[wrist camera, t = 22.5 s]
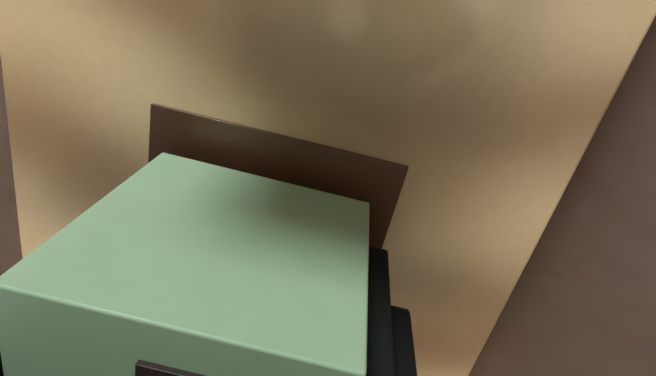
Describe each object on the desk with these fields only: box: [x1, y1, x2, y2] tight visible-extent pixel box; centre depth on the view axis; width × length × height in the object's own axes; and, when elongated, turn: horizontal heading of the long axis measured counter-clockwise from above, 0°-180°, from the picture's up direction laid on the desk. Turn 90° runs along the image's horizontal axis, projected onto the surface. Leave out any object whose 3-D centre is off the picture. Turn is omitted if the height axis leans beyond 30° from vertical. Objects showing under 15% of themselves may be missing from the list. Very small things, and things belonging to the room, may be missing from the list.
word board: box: [0, 0, 656, 376], centre depth 10 cm, size 18×14×1 cm
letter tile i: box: [0, 153, 370, 376], centre depth 9 cm, size 5×5×5 cm
